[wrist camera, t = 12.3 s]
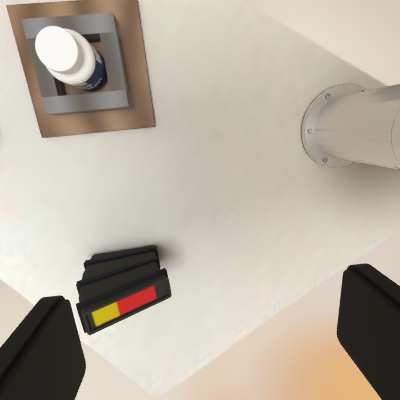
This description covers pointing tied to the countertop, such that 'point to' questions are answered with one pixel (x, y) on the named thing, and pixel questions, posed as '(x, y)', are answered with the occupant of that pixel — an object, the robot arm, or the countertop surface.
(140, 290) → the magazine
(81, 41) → the pill bottle
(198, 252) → the countertop surface
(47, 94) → the mount
